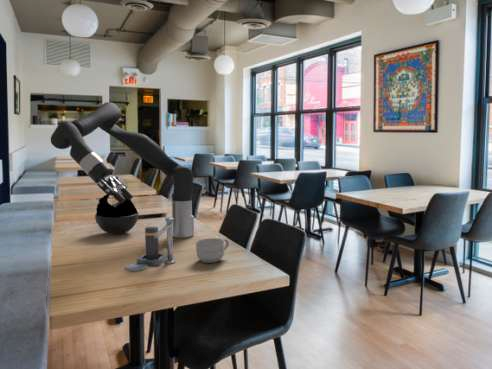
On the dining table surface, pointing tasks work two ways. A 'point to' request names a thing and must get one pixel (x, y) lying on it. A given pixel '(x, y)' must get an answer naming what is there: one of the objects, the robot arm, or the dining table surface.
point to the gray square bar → (164, 228)
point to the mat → (136, 267)
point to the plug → (151, 243)
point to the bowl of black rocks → (116, 216)
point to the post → (170, 246)
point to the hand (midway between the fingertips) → (127, 200)
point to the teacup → (211, 249)
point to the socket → (158, 261)
